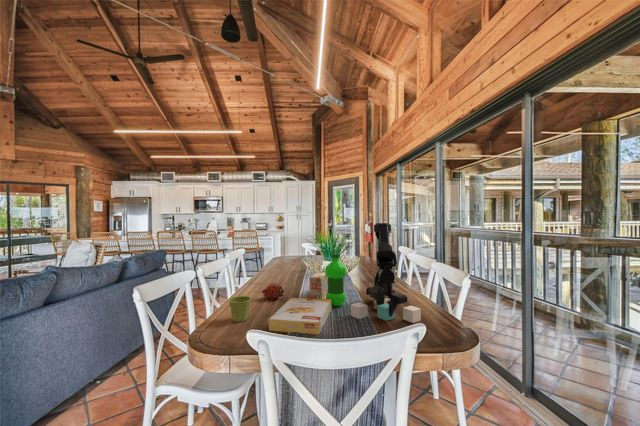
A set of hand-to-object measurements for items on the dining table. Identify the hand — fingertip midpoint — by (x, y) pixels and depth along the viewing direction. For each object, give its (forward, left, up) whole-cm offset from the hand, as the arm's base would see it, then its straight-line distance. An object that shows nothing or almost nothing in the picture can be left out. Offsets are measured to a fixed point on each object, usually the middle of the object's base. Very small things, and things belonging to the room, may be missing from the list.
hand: (385, 314), depth 122 cm
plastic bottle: (-26, -7, -1) cm, 27 cm away
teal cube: (0, 0, -1) cm, 1 cm away
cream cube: (+8, +7, -1) cm, 11 cm away
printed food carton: (-44, -3, -2) cm, 44 cm away
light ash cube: (-9, +7, -1) cm, 11 cm away
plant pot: (-34, -52, -2) cm, 62 cm away
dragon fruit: (-53, -28, -2) cm, 60 cm away
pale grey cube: (-8, -8, -1) cm, 11 cm away
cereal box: (-19, -30, -2) cm, 35 cm away
